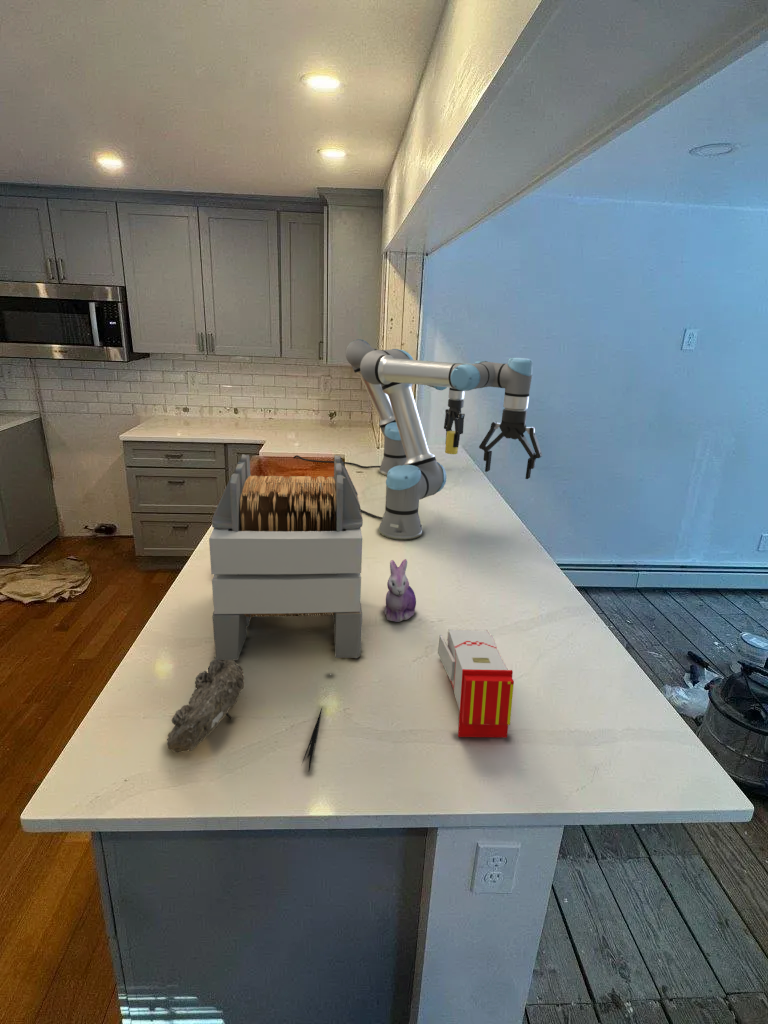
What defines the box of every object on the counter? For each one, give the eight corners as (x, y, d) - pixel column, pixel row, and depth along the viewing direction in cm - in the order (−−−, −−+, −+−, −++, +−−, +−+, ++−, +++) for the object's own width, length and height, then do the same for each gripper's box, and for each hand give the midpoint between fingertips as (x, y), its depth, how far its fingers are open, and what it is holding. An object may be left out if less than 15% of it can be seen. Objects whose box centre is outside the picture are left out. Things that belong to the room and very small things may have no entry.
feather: (331, 679, 122) (336, 673, 122) (307, 777, 96) (313, 769, 95) (324, 675, 122) (329, 669, 121) (298, 772, 95) (304, 764, 95)
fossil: (192, 660, 117) (244, 628, 112) (224, 691, 120) (276, 661, 115) (142, 746, 98) (202, 712, 93) (182, 779, 101) (242, 748, 96)
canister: (443, 453, 283) (445, 432, 280) (447, 450, 288) (449, 430, 285) (454, 454, 281) (456, 433, 277) (459, 452, 286) (461, 431, 282)
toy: (488, 613, 130) (523, 677, 101) (484, 667, 133) (517, 744, 104) (435, 612, 130) (455, 676, 101) (432, 666, 133) (451, 743, 103)
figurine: (392, 627, 141) (395, 572, 136) (374, 608, 149) (376, 556, 144) (425, 619, 145) (429, 566, 140) (405, 601, 154) (408, 550, 149)
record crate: (234, 590, 156) (226, 444, 142) (353, 588, 159) (357, 447, 146) (212, 662, 124) (200, 485, 110) (361, 659, 128) (367, 486, 114)
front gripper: (558, 412, 175) (548, 478, 182) (481, 403, 186) (475, 465, 194) (552, 415, 169) (542, 483, 176) (473, 405, 180) (467, 470, 187)
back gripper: (474, 402, 269) (469, 449, 277) (451, 395, 285) (447, 440, 293) (460, 402, 266) (456, 450, 274) (439, 396, 282) (435, 441, 289)
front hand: (507, 474), depth 185 cm, fingers open, 13 cm apart
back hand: (451, 445), depth 283 cm, fingers closed on canister, 6 cm apart
